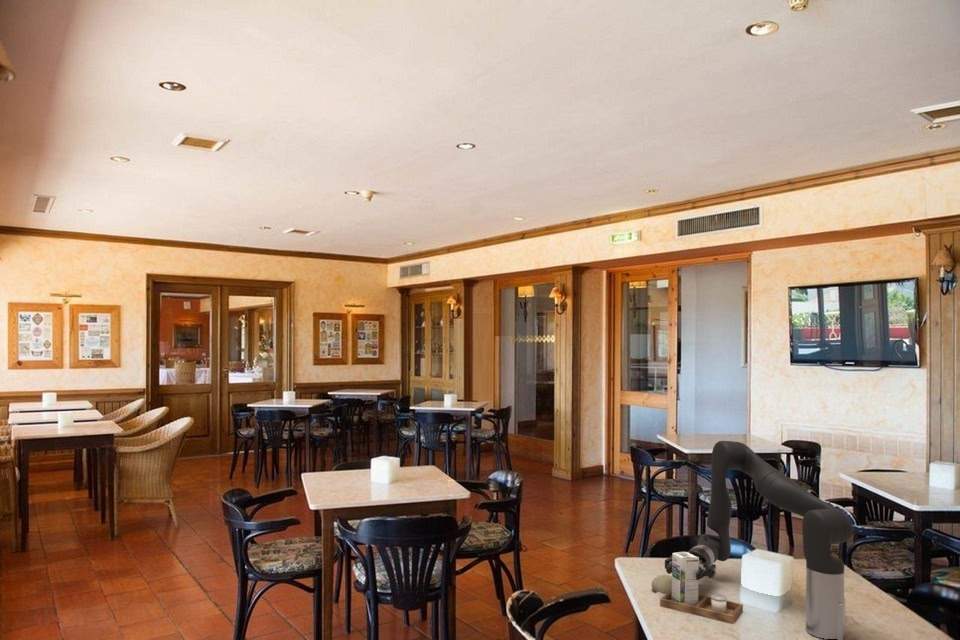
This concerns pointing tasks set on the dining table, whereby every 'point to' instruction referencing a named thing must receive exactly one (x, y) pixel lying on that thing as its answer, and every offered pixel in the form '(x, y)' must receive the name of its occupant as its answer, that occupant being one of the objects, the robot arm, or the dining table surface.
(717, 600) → the translucent white cylinder
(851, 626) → the dining table surface
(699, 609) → the caddy
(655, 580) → the sea urchin shell
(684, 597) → the syrup box
